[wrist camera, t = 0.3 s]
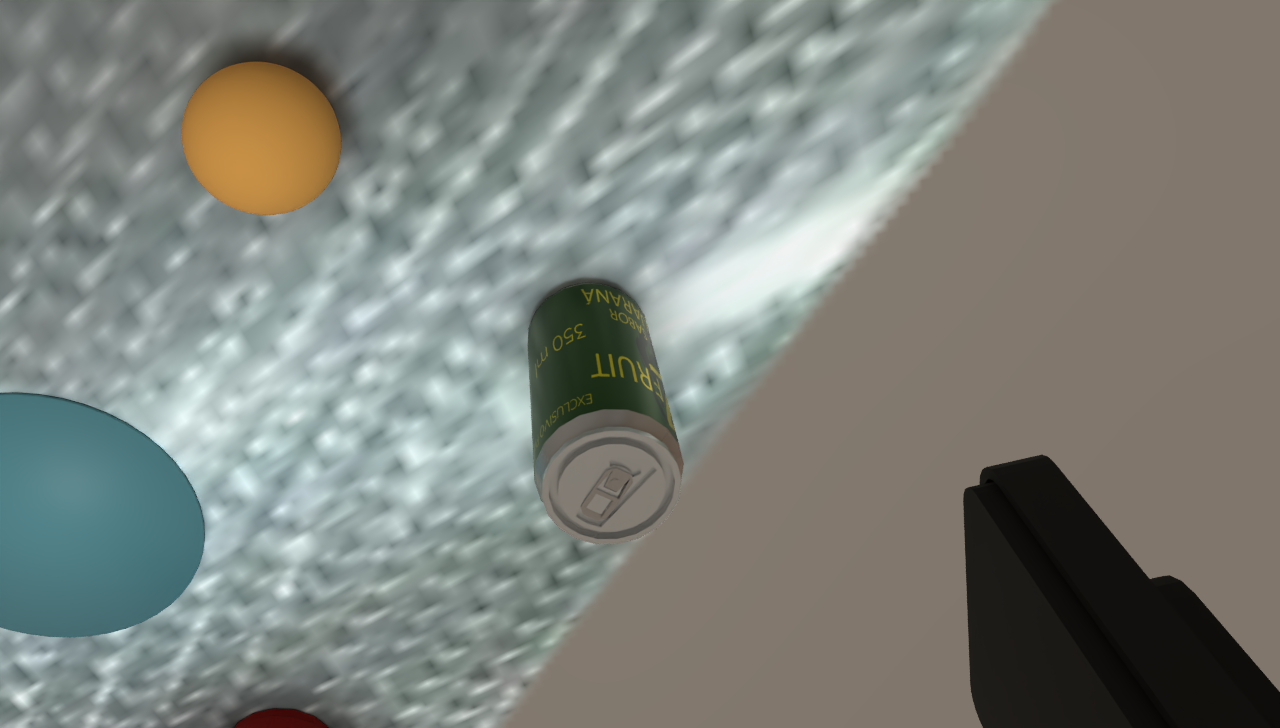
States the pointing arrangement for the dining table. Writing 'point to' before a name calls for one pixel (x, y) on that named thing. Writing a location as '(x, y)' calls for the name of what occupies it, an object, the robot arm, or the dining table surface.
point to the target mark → (88, 521)
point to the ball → (261, 138)
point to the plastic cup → (280, 720)
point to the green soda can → (600, 417)
